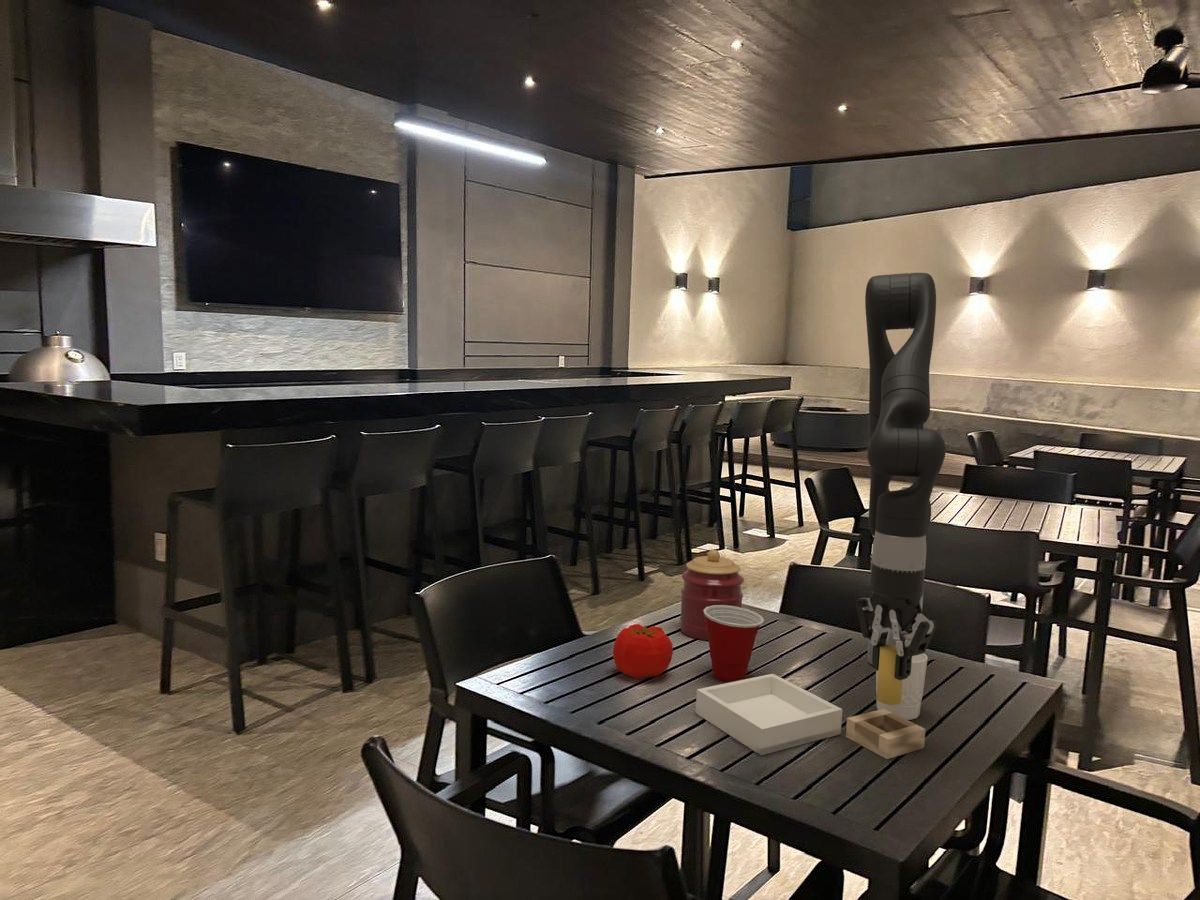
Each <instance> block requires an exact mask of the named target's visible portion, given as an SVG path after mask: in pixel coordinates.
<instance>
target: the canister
mask: <svg viewBox="0 0 1200 900" xmlns="http://www.w3.org/2000/svg"><path fill="white" fill-rule="evenodd" d="M685 567H686V568H687V570H685V571H684V572H683V573H682V574H681V578H682V580H683V587H682V588H681V590H680V594H681V603H680V606H681V607H680V617H679V626H680V631H681V632H682V633H683V634H684V635H687V636H689V637H691V638H694V639H698V640H702V641H709V638H708V629H707V622H706V617H705V614H704V609H705V608H706V607H709V606H713V605H727V606H735V607H740V608H743V606H742V604H743V597H744V593H743V592H742V585H743V583H744V581H745V579H744V577H743V576H742V575H741V574H740V573H739V572H740V571H741V566H739V565H738V564H737V563H735V562H734V560H732V559H731V558H730V559H729V558H727V557H723V556H721V554H720V552H719V550H717V549H711V550H709V551H708V553H707V555H704V556H702V555H701V556H697V557H694V558H693V559H692V560H689V562H686V566H685Z"/></svg>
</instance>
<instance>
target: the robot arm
mask: <svg viewBox="0 0 1200 900" xmlns="http://www.w3.org/2000/svg"><path fill="white" fill-rule="evenodd" d="M864 298H865V299H864V300H865V301H864V303H865V307H864V309H865V321H866V332H867V333H866V334H867V345H868V346H867V347H868V359H869V387H868V389H869V391H868V392H869V393H868V416H869V417H868V423H869V425H868V427H869V444H868V447H867V455H866V456H867V462H868V464H869V466H870V481H869V483H870V485H869V501H868V502H869V503H868V527H869V531H870V533H871V535H872V536H873V537H874V538H873V542H872V549H871V550H872V551H871V552H872V553H871V554H872V555H871V567H870V579H869V588H870V591H871V594H870V596H869V597H861V598H857V599H855V603H854V604H855V608H856V612H857V617H858V622H859V627H860V631H861V635H862V637H863V638H864V639H868V644H867V657H866V658H867V659H866V660H867V662H868V663H869V664H870V665H872V666H873V667H872V668H873V669H874V670H875V671H876V670H878V669H879V655H880V646H883V645H894V646H896V648H897V654H898V655H896V663H895V678H896V679H898V680H903V679H907V678H908V676H910V674H911V664H912V656H915V655H919V654H923V653H924V654H926V653H925V652H926V650H927V648H928V646H929V644H930V642H931V640H932V638H933V636H934V634H935V631H936V630H937V628H938V622H937V620H936V619H928V617H926V616H925V615H924V614H923V603H924V588H925V576H926V561H927V560H926V559H927V552H928V551H927V549H928V542H929V534H930V526H931V519H932V503H931V496H932V492H933V490H934V487H935V485H936V481H937V480H938V476H939V474H940V471H941V469H942V466H943V464H944V460H945V457H946V453H947V452H946V451H947V450H946V448H947V447H946V443H945V441H944V440H945V439H944V438H943V436H942V434H941V433H939V432H938V431H936V430H934V429H931V428H930V429H927V428H924V425H925V423H927V421H928V420H929V418H930V416H931V415H930V414H931V399H930V398H931V397H930V396H931V395H930V394H931V393H930V392H931V391H930V389H931V388H930V367H931V360H932V354H933V353H932V352H933V346H934V338H935V337H934V336H935V326H936V312H937V290H936V283H935V281H934V278H933V277H932V275H931V274H929V273H927V272H910V273H909V272H907V273H906V272H905V273H892V274H890V273H889V274H879V275H874V276H871V277H870V278H869V279H868V281H867V283H866V288H865V297H864ZM909 329H910V330H912V329H913V330H912V333H911V335H910V336H909V337H908V339H907V340H906V342H905V343H904V344H903V345H902V346H901V347H900V349H899V350H897V352H896V353H895V352H894V351H893V348H892V346H891V343H890V341H889V338H888V335H887V331H891V330H909ZM894 476H895V477H910V478H912V477H914V478H915V480H914V482H913V483H912V484H911V485H910V486H908V487H906V488H903V489H896V490H890V488H889V487H890V482H891V481H892V478H893V477H894Z"/></svg>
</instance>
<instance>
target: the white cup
mask: <svg viewBox="0 0 1200 900" xmlns="http://www.w3.org/2000/svg"><path fill="white" fill-rule="evenodd" d="M928 659H929V658H928V655H927V654H926V653H923V654H919V655H915V656H912V664H911V674H910V676H908V678H907V679H903V681H902V694H901V703H900V704H898V705H888V704H884V703H881V702H879V701H878V700H877V698H876V699H875V700H876V706H875V707H876V710H880V709H885V710H887V711H889V712H891V713H893V714H896V715H898V716H900V717H902V718H904V719H906V720H908V721H909V720H910V721H911V720H912V721H913V720H915V719H917V718H918V717H919V716H920V714H921V706H922V699H923V696H924V695H923V694H924V688H925V682H926V673H927V665H928ZM877 684H878V670H875V693H876V695H877Z"/></svg>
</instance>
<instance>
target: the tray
mask: <svg viewBox="0 0 1200 900" xmlns="http://www.w3.org/2000/svg"><path fill="white" fill-rule="evenodd" d="M695 699H696V701H695V704H696V705H695V714H697V715H698V716H699V717H700V718H702V719H704V720H705V721H707V722H708V723H710V724H711V725H713V726H715V727H716V728H718V729H719V730H721V731H723V733H726V734H727V735H729V736H730V737H731V738H733V739H735V740H736V741H738V742H739V743H741V744H743V745H744V746H745V747H747V748H749V749H750V750H752V751H753V752H755V753H757V755H759V756H764V755H767V754H772V753H776V752H779V751H782V750H786V749H790V748H794V747H797V746H801V745H804V744H809V743H812V742H816V741H820V740H824V739H828V738H831V737H834V736H835V737H836V736H838V735H839V736H840V735H841V734H842V721H843V708H841V707H839V706H837V705H835V704H833V703H831V702H829V701H827V700H825V699H824V698H822V697H819V696H817V695H815V694H814V693H811V692H809V691H808V690H806V689H804V688H801V687H800V686H799V685H796V684H794V683H792V682H790V681H788V680H786V679H784V678H782V677H781V676H778V675H777V674H775V673H770V674H765V675H761V676H755V677H750V678H745V679H744V680H740V681H735V682H725V683H721V684H715V685H711V686H707V687H706V686H705V687H702V688H697V689H696V698H695Z"/></svg>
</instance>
